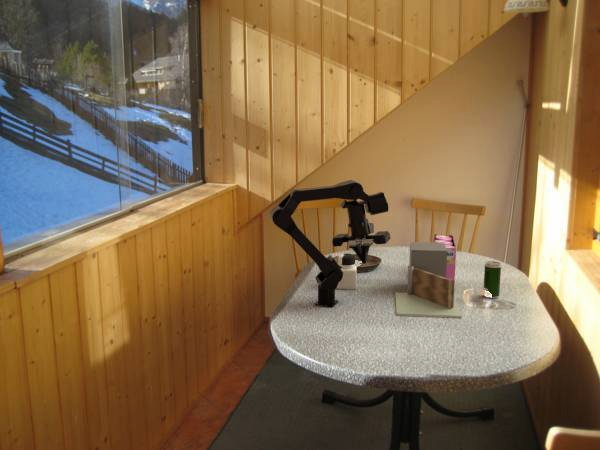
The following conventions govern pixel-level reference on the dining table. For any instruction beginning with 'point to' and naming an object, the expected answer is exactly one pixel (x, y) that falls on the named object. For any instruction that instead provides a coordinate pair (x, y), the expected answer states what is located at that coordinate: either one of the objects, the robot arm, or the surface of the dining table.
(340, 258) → the medicine bottle
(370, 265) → the plant saucer
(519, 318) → the dining table surface
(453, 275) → the gum box
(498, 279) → the beer can
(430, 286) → the brown wooden flat panel
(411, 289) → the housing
